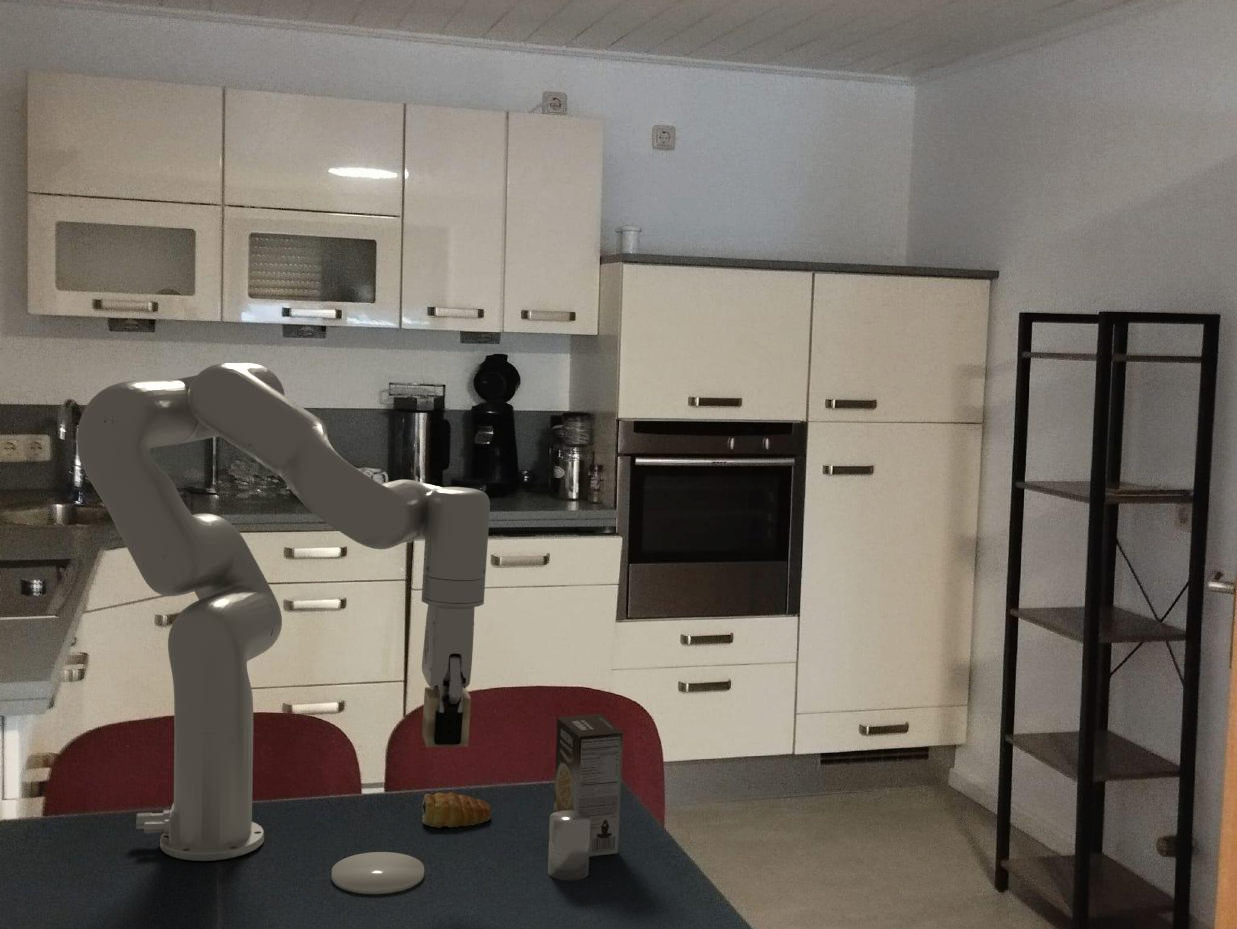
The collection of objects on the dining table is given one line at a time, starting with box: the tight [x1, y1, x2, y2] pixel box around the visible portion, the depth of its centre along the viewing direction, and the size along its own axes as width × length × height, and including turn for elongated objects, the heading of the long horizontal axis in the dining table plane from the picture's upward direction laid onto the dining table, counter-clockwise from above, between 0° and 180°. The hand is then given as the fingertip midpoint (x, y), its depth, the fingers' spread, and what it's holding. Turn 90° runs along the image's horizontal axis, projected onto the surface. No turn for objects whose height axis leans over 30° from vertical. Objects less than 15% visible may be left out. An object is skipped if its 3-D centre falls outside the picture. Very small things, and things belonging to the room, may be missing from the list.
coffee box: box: [553, 713, 624, 858], centre depth 174 cm, size 9×6×16 cm
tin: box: [547, 810, 591, 881], centre depth 165 cm, size 5×5×7 cm
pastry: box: [421, 791, 492, 829], centre depth 181 cm, size 9×7×4 cm
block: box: [421, 686, 472, 748], centre depth 163 cm, size 5×5×6 cm
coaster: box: [331, 851, 425, 895], centre depth 162 cm, size 11×11×1 cm
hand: (444, 735), depth 163 cm, fingers closed on block, 5 cm apart
